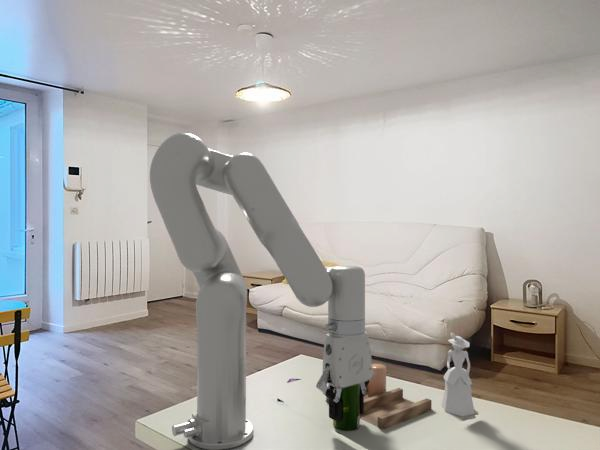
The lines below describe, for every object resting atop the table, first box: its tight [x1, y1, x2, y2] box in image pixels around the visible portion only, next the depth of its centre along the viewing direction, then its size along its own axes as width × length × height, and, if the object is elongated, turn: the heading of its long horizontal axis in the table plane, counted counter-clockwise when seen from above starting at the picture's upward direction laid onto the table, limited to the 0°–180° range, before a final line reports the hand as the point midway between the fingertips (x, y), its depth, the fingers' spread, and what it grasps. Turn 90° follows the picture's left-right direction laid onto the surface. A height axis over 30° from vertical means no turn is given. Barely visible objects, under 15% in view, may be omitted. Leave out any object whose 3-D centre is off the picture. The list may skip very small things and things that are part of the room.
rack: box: [325, 385, 433, 431], centre depth 97 cm, size 16×18×3 cm
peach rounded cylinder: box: [368, 363, 387, 397], centre depth 102 cm, size 4×4×7 cm
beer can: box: [332, 384, 361, 435], centre depth 87 cm, size 5×5×12 cm
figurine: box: [440, 332, 476, 422], centre depth 95 cm, size 7×8×18 cm
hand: (346, 414), depth 87 cm, fingers closed on beer can, 5 cm apart
